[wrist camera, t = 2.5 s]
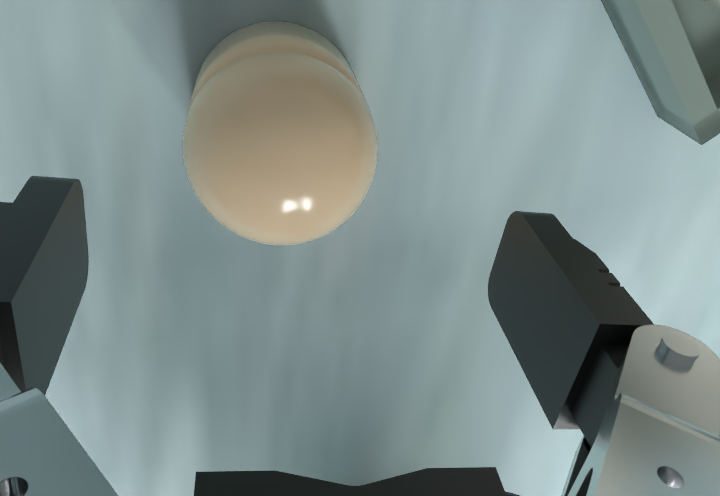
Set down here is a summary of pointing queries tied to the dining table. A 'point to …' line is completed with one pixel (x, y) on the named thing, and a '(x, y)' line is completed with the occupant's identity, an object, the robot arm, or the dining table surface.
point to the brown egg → (279, 135)
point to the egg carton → (675, 58)
